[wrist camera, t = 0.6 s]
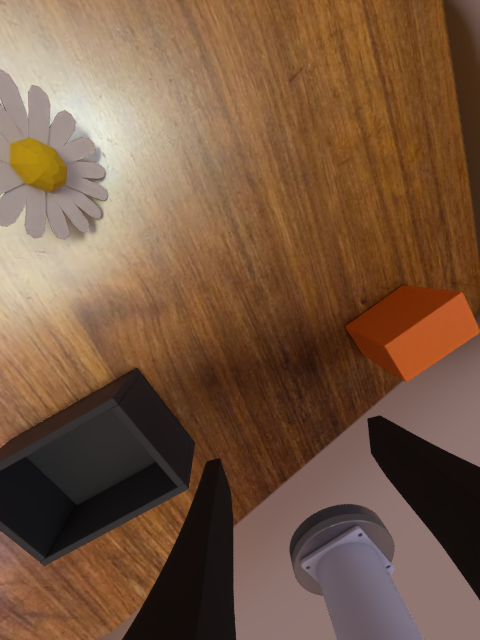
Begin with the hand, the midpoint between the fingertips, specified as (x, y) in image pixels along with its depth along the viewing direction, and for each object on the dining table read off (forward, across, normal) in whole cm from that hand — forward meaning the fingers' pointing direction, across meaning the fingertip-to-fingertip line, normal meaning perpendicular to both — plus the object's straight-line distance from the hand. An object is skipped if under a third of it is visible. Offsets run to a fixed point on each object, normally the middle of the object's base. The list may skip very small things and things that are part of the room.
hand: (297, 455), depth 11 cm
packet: (+10, -11, -1) cm, 15 cm away
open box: (+10, +15, +4) cm, 19 cm away
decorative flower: (+10, +14, -15) cm, 23 cm away
